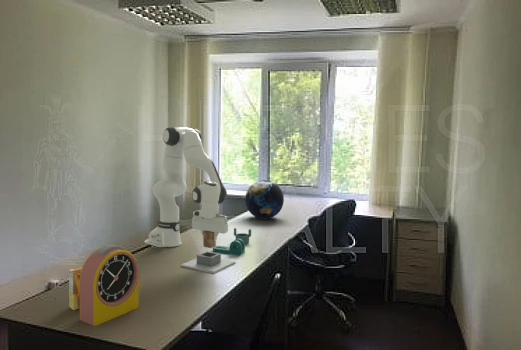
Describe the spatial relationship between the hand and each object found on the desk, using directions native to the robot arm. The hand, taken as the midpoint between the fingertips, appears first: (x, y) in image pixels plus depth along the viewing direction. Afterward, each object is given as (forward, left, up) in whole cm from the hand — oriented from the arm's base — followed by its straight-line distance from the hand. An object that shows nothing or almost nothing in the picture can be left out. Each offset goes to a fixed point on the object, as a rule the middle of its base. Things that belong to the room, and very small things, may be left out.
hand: (209, 239), depth 237 cm
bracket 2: (-8, +48, -14) cm, 50 cm away
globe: (-31, +120, -14) cm, 125 cm away
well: (0, 0, -13) cm, 13 cm away
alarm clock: (+3, -70, -14) cm, 71 cm away
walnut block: (0, 0, -4) cm, 4 cm away
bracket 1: (-5, +26, -14) cm, 30 cm away
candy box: (-11, -71, -14) cm, 73 cm away
